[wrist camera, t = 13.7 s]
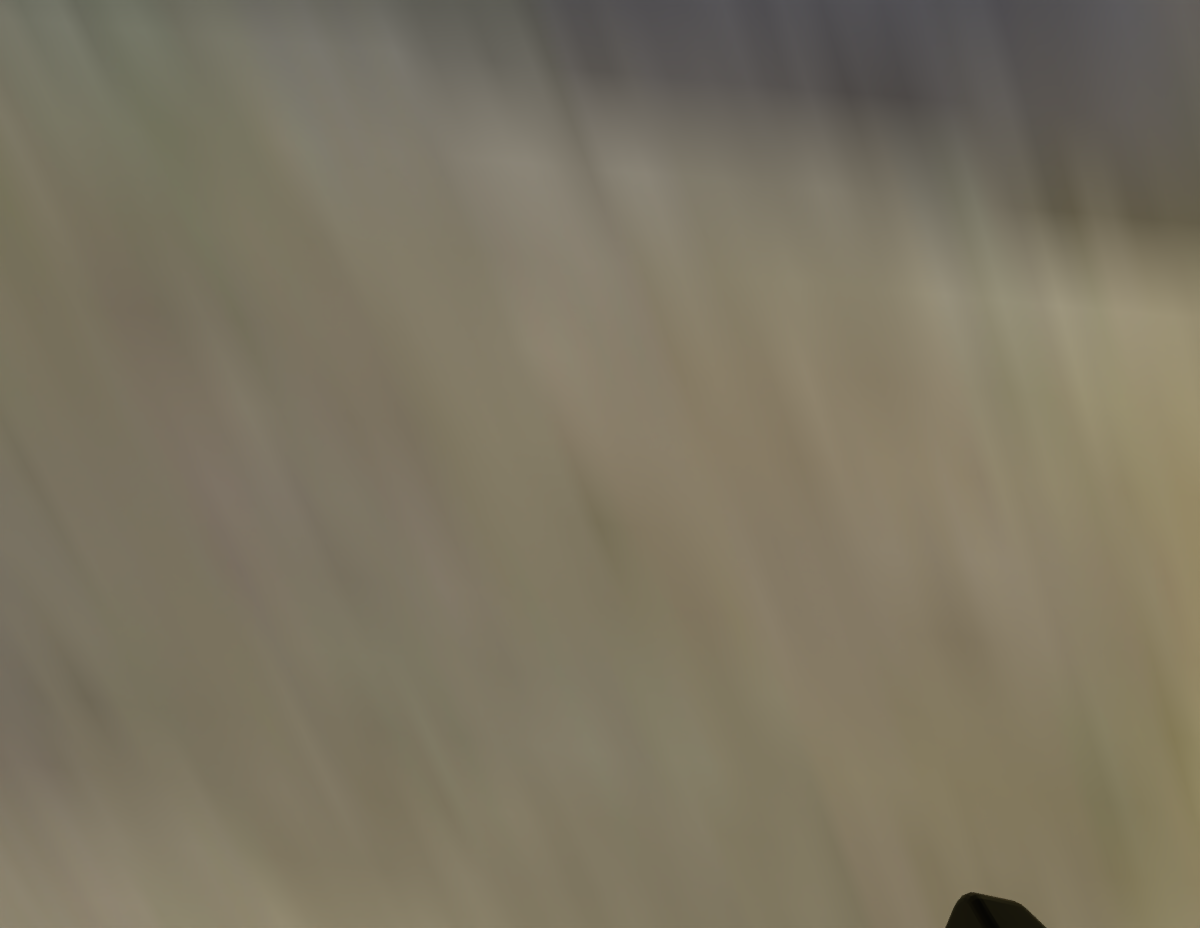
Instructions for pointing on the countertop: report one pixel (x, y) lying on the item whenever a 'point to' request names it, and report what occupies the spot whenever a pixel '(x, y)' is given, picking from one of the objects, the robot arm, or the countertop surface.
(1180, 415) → the countertop surface
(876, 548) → the countertop surface
